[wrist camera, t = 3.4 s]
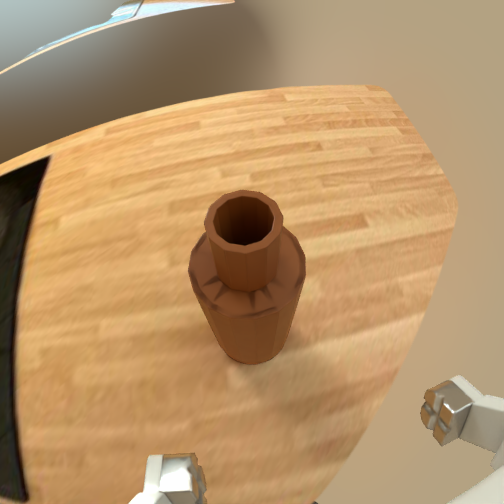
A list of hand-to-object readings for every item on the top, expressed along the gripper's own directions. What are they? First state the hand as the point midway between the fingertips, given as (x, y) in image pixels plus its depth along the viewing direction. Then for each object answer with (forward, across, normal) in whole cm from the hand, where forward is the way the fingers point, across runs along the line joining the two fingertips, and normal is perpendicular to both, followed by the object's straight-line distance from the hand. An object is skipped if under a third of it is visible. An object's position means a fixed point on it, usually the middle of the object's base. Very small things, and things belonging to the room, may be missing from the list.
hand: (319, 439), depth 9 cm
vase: (+19, +1, +6) cm, 20 cm away
